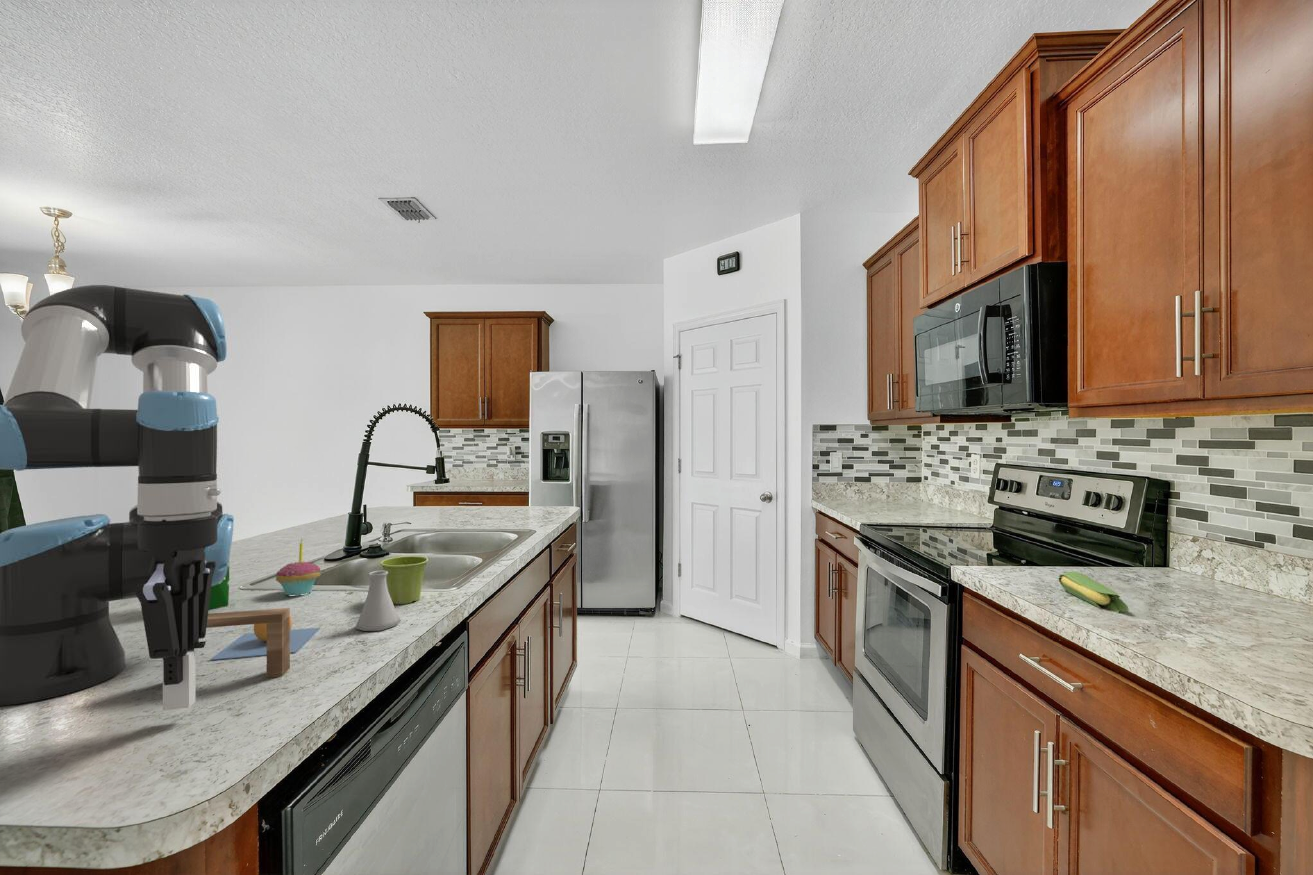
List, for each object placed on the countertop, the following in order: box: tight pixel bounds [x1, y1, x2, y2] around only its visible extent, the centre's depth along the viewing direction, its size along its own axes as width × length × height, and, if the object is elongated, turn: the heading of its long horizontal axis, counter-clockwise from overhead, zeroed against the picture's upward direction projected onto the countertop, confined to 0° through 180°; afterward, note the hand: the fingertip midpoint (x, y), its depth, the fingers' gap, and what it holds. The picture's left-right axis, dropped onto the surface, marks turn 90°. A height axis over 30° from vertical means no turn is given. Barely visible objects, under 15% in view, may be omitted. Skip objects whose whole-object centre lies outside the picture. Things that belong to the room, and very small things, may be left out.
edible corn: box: [1058, 570, 1130, 614], centre depth 119 cm, size 5×20×5 cm
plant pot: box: [380, 555, 429, 605], centre depth 120 cm, size 9×9×9 cm
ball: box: [253, 615, 293, 642], centre depth 96 cm, size 6×6×6 cm
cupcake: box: [275, 538, 321, 596], centre depth 125 cm, size 9×8×12 cm
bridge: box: [206, 607, 291, 679], centre depth 82 cm, size 3×14×9 cm, turn 105°
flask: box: [354, 570, 401, 632], centre depth 104 cm, size 7×7×10 cm
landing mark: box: [209, 627, 321, 662], centre depth 95 cm, size 12×12×1 cm
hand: (179, 705), depth 69 cm, fingers closed
